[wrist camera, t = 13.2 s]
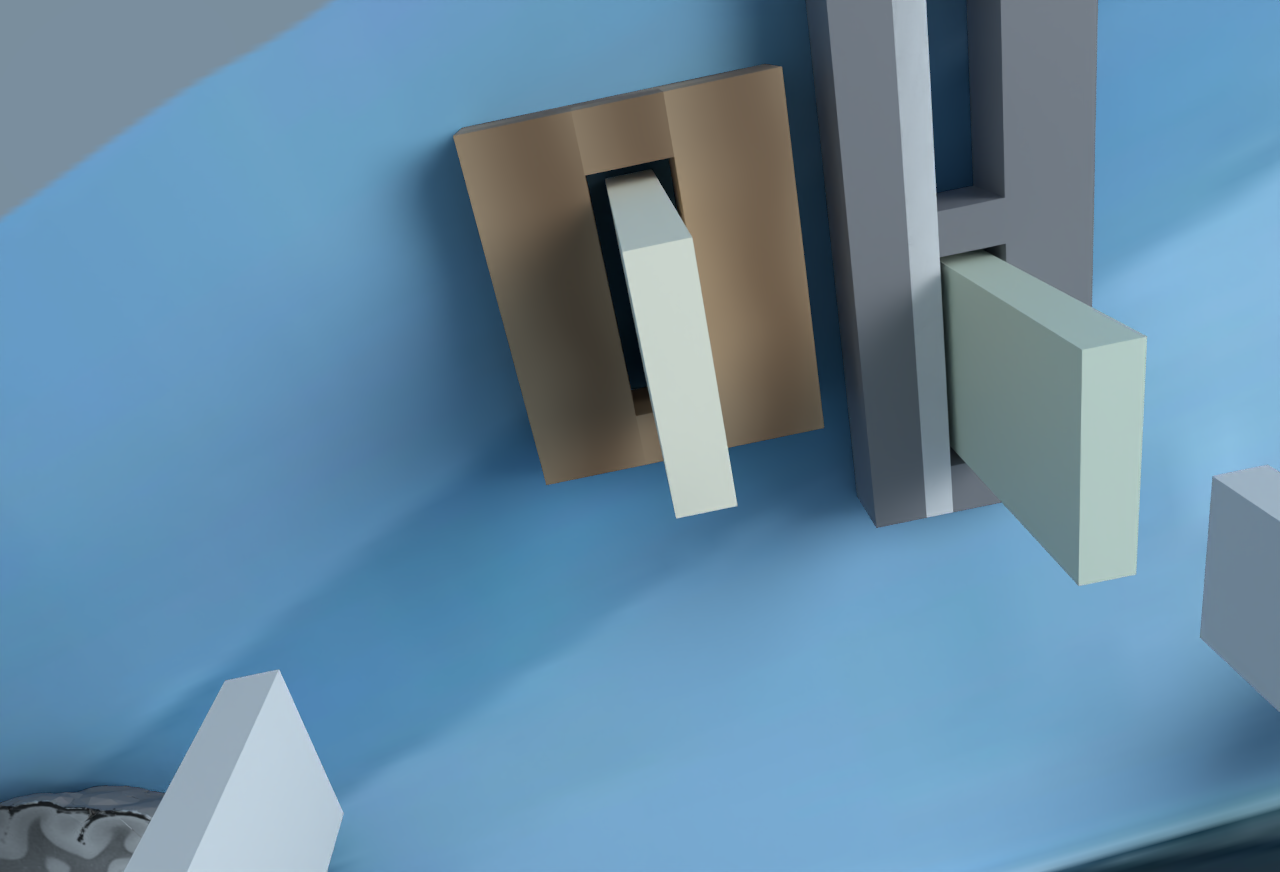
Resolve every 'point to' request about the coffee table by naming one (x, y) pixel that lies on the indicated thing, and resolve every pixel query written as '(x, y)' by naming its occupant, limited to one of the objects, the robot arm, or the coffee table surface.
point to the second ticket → (1047, 410)
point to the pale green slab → (673, 342)
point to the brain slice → (75, 829)
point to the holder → (577, 279)
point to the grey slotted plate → (943, 211)
